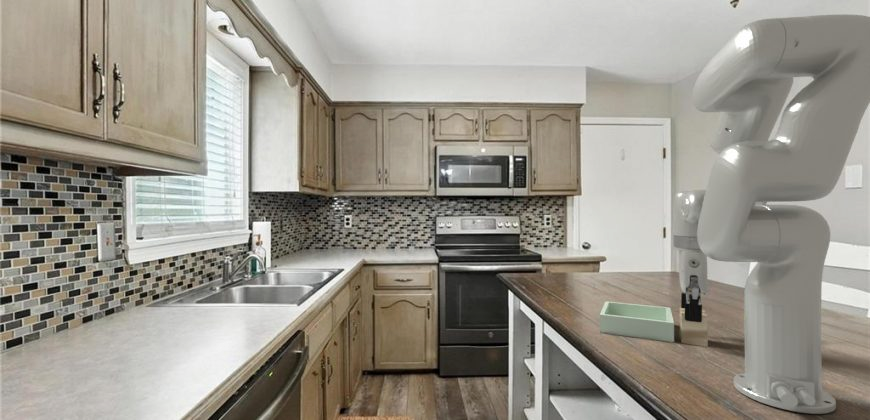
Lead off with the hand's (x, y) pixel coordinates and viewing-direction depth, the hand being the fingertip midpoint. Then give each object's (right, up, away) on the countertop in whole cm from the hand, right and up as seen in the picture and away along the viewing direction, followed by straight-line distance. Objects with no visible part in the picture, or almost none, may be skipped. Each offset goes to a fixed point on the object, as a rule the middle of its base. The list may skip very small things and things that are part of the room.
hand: (690, 315), depth 92 cm
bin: (-8, -6, +9) cm, 14 cm away
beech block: (0, -6, -1) cm, 6 cm away
